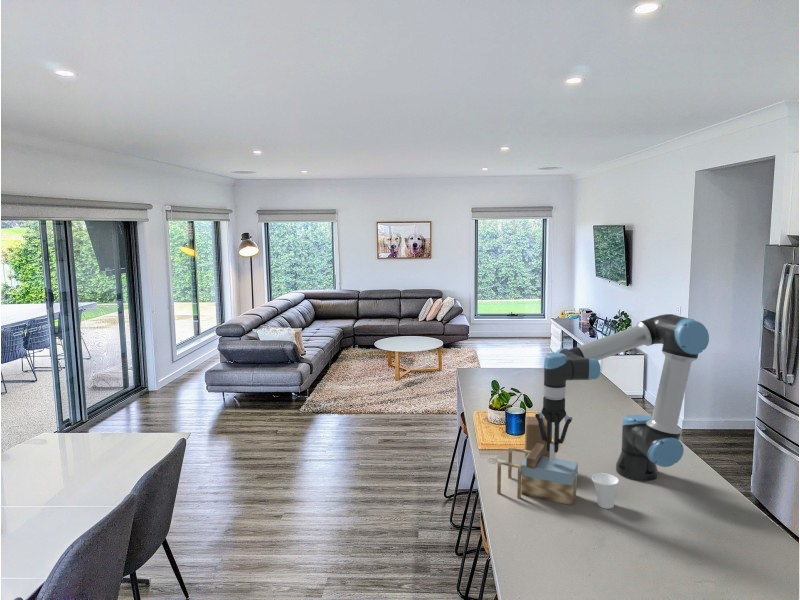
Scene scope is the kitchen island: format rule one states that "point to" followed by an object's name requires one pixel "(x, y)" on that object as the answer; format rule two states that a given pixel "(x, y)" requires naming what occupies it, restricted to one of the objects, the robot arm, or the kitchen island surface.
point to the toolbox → (538, 484)
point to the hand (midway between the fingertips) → (552, 460)
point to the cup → (605, 489)
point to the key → (535, 455)
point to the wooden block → (534, 434)
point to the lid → (552, 470)
